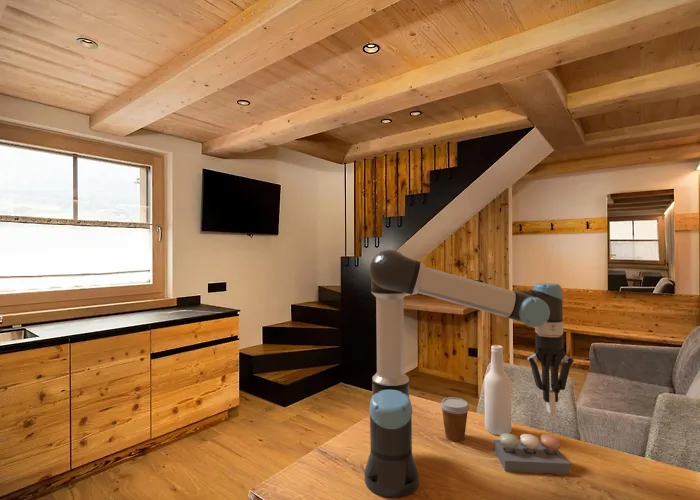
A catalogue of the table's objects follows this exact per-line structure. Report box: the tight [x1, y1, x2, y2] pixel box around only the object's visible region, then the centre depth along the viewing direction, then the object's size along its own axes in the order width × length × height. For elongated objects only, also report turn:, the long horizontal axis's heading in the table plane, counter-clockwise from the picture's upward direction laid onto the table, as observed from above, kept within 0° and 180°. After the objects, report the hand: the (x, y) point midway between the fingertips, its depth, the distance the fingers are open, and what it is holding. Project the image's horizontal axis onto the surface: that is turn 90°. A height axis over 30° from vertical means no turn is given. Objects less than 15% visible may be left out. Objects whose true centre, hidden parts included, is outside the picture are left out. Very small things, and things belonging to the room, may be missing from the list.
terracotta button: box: [540, 434, 561, 455], centre depth 114 cm, size 5×5×5 cm
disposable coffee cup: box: [440, 397, 470, 442], centre depth 129 cm, size 10×10×12 cm
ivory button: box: [519, 433, 540, 454], centre depth 115 cm, size 5×5×5 cm
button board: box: [493, 439, 571, 475], centre depth 115 cm, size 18×12×3 cm, turn 84°
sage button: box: [499, 433, 519, 453], centre depth 115 cm, size 5×5×5 cm
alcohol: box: [483, 344, 512, 437], centre depth 134 cm, size 9×9×30 cm
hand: (550, 412), depth 114 cm, fingers closed
